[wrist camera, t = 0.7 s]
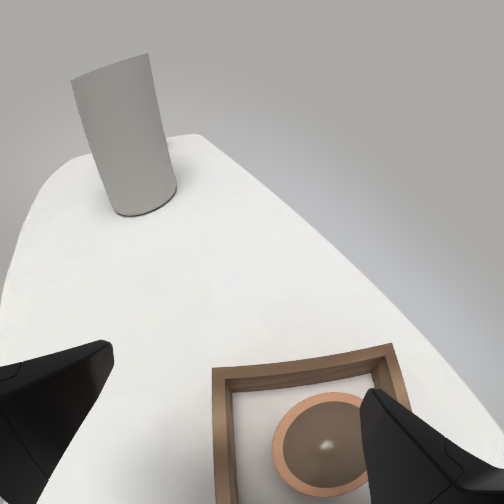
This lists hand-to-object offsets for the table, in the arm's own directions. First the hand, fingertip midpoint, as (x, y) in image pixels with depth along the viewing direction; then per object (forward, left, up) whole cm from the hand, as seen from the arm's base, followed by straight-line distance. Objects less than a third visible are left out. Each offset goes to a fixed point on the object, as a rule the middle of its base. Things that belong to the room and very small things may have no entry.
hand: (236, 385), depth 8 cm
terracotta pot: (-2, -4, -16) cm, 17 cm away
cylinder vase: (+39, +18, -16) cm, 46 cm away
